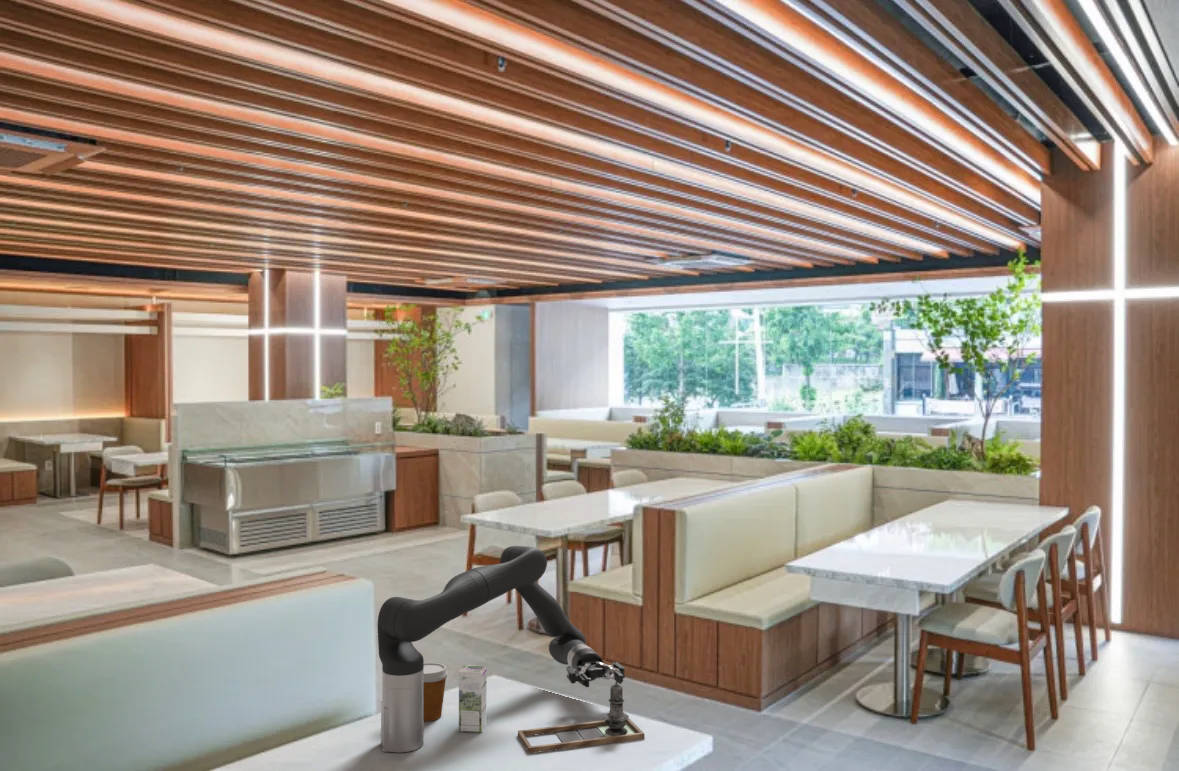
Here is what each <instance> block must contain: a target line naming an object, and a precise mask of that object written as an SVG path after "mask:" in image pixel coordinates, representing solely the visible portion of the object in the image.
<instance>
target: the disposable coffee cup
mask: <svg viewBox="0 0 1179 771" xmlns="http://www.w3.org/2000/svg"><path fill="white" fill-rule="evenodd" d="M448 674H449V670H447V666H446V665H445V664H443V663H438V662H424V714H423V722H431V721H436V720H438V718H439V719H440V718H442V714H443V712H442V711H443V704H444V697H445V696H444V695H445V689H446V679H447V677H448Z"/></svg>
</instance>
